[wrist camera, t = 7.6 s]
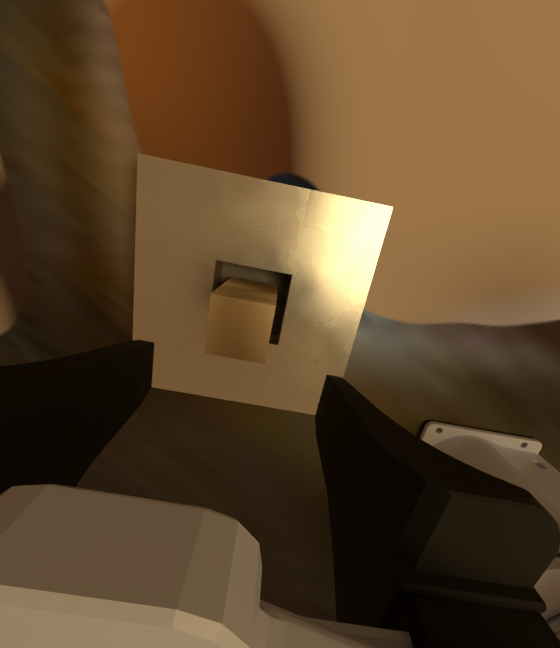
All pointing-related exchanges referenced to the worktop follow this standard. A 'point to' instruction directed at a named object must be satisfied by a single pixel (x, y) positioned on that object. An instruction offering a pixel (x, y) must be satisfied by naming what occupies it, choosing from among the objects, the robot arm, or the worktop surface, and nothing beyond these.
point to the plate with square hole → (259, 252)
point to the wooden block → (241, 320)
